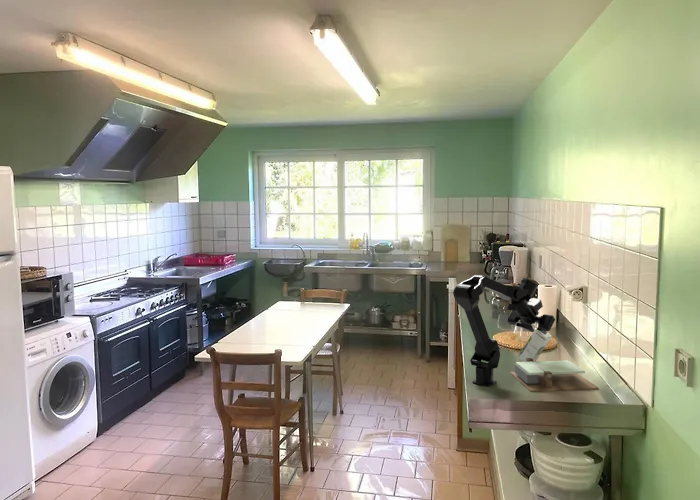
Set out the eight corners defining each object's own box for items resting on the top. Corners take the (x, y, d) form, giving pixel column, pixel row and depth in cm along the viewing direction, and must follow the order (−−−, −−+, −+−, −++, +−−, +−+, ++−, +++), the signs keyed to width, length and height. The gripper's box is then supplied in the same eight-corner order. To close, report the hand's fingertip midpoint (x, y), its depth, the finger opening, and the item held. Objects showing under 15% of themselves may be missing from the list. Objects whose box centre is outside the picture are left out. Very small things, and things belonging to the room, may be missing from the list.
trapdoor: (527, 384, 191) (527, 372, 191) (514, 372, 205) (514, 361, 205) (584, 382, 192) (584, 370, 191) (567, 370, 206) (567, 359, 205)
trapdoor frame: (530, 391, 187) (530, 374, 187) (509, 373, 209) (509, 357, 209) (598, 389, 188) (598, 372, 187) (571, 370, 210) (571, 355, 209)
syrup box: (523, 354, 225) (540, 326, 219) (535, 363, 222) (552, 335, 216) (517, 357, 221) (534, 328, 215) (529, 366, 218) (546, 338, 212)
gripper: (552, 294, 205) (568, 319, 212) (511, 290, 220) (528, 313, 227) (539, 318, 201) (557, 342, 208) (499, 311, 216) (516, 334, 223)
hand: (539, 332), depth 217 cm, fingers open, 5 cm apart
